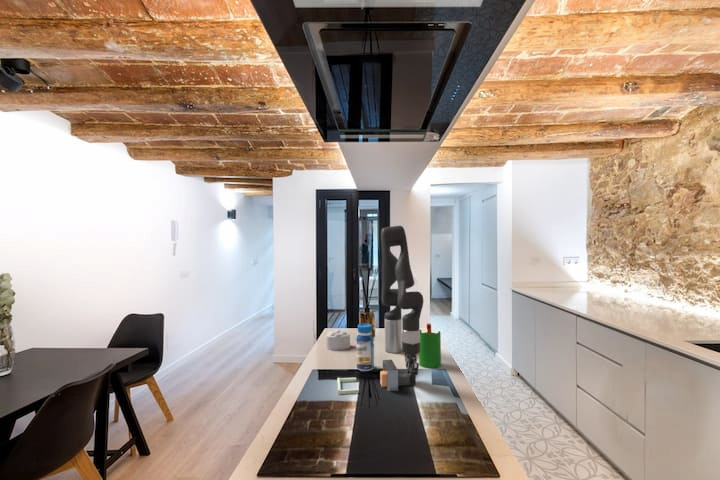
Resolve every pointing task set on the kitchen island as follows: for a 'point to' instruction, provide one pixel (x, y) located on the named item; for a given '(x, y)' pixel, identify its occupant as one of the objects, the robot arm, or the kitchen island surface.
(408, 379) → the plug
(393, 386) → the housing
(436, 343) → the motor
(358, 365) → the beverage bottle
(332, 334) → the lumpy-topped squat cylinder
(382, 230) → the robot arm
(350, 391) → the light grey u-shaped piece
